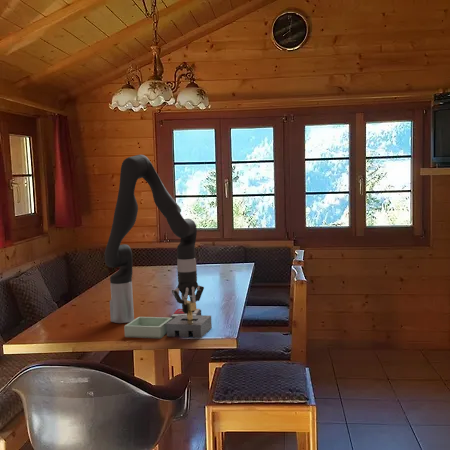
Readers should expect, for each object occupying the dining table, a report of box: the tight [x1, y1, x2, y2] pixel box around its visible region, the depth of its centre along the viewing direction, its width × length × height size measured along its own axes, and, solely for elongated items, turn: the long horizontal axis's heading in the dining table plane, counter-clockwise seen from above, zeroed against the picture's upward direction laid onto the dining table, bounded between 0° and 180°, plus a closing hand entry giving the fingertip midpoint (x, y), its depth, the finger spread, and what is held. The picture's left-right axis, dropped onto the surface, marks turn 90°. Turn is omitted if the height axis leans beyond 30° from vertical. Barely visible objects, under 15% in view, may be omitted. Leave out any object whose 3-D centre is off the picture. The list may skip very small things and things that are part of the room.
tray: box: [123, 316, 173, 339], centre depth 231 cm, size 15×14×4 cm
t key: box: [187, 299, 197, 334], centre depth 229 cm, size 8×2×12 cm, turn 30°
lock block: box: [166, 314, 213, 339], centre depth 230 cm, size 14×14×5 cm
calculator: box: [169, 308, 202, 319], centre depth 249 cm, size 11×4×15 cm
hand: (189, 312), depth 229 cm, fingers closed on t key, 2 cm apart
